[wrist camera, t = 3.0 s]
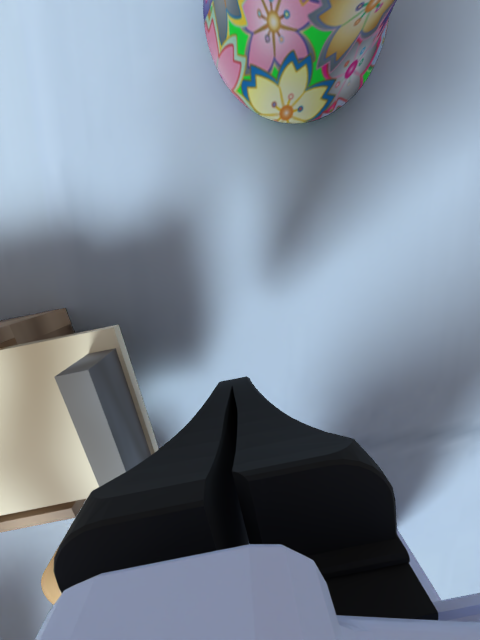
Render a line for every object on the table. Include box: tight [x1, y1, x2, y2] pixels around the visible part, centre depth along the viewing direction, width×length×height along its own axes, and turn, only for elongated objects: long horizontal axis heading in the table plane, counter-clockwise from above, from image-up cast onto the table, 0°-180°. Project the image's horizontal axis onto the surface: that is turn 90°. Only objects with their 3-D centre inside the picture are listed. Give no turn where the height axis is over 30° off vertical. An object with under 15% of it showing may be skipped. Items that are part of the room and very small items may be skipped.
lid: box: [0, 325, 159, 516], centre depth 11 cm, size 9×8×3 cm
